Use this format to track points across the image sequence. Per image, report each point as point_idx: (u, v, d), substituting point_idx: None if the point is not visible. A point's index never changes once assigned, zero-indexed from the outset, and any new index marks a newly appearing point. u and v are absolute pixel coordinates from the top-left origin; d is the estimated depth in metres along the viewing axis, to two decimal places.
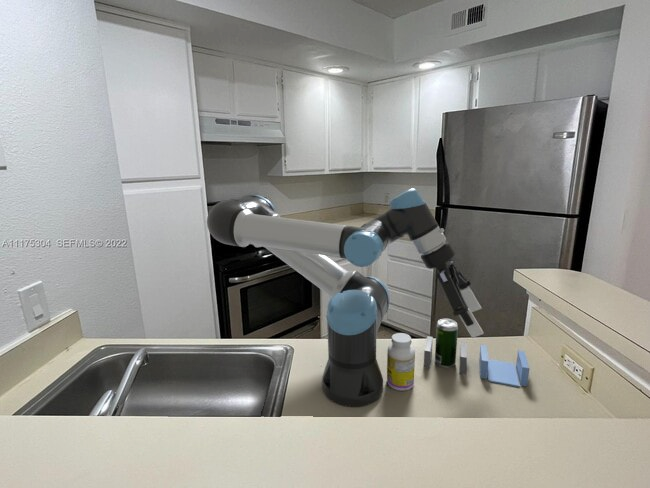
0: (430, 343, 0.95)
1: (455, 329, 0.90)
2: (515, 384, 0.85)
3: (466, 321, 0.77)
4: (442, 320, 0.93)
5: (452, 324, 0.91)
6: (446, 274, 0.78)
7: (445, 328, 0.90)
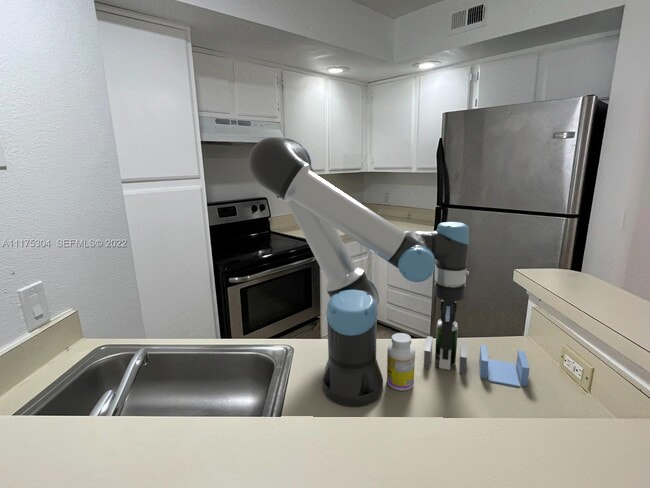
0: (430, 343, 0.95)
1: (455, 329, 0.90)
2: (515, 384, 0.85)
3: (444, 355, 0.90)
4: None
5: (452, 324, 0.91)
6: (451, 318, 0.85)
7: None
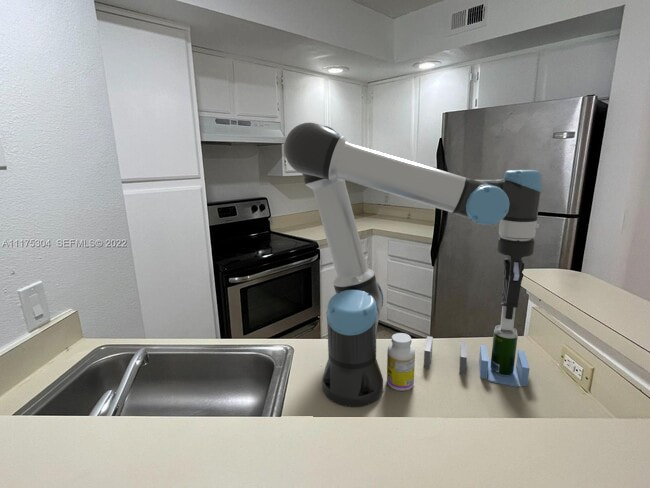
0: (430, 343, 0.95)
1: (515, 336, 0.85)
2: (515, 384, 0.85)
3: (508, 314, 0.84)
4: (499, 326, 0.88)
5: (512, 331, 0.86)
6: (521, 277, 0.77)
7: (505, 335, 0.85)
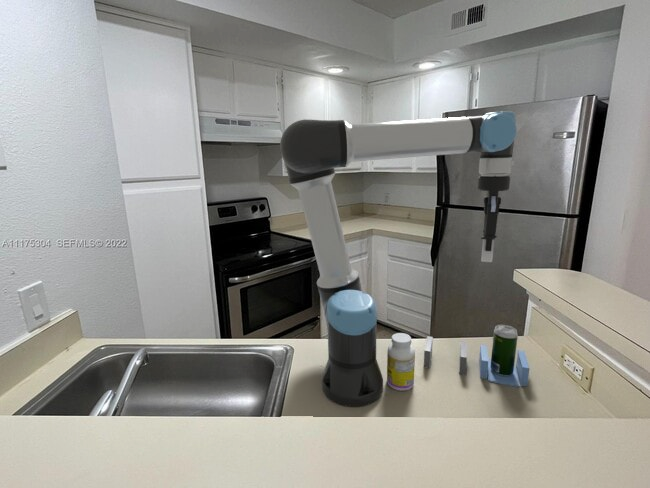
0: (430, 343, 0.95)
1: (515, 336, 0.85)
2: (515, 384, 0.85)
3: (487, 246, 0.93)
4: (499, 326, 0.88)
5: (512, 331, 0.86)
6: (497, 208, 0.86)
7: (505, 335, 0.85)
